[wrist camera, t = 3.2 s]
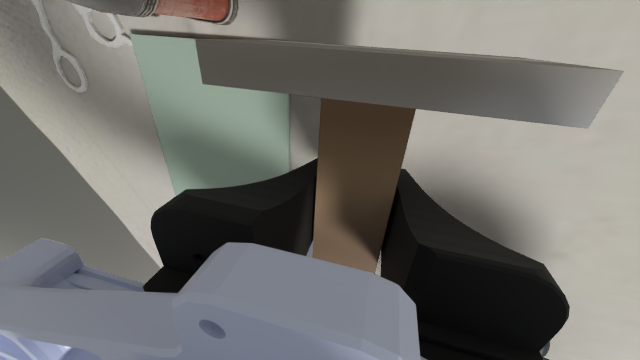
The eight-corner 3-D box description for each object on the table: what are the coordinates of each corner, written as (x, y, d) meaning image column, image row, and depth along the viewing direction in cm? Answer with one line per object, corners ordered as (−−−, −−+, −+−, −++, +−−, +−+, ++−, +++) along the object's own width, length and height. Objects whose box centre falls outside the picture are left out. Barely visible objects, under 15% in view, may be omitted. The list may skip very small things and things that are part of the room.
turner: (424, 286, 16) (434, 375, 12) (278, 250, 18) (242, 315, 14) (519, 57, 9) (623, 71, 5) (270, 39, 11) (194, 38, 7)
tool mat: (290, 217, 24) (288, 220, 24) (178, 193, 27) (175, 195, 27) (289, 45, 17) (287, 45, 17) (133, 34, 19) (129, 34, 19)
